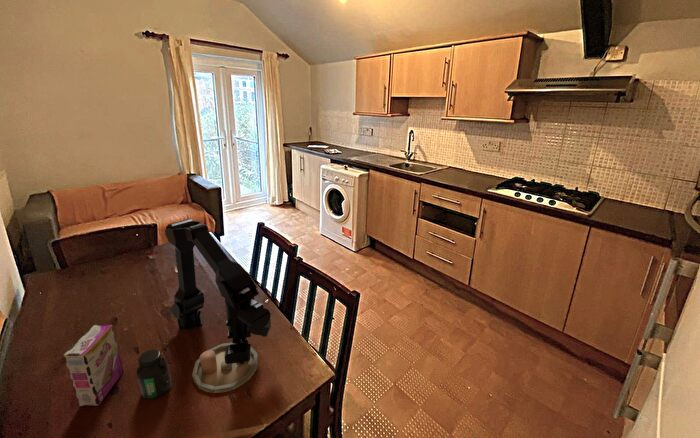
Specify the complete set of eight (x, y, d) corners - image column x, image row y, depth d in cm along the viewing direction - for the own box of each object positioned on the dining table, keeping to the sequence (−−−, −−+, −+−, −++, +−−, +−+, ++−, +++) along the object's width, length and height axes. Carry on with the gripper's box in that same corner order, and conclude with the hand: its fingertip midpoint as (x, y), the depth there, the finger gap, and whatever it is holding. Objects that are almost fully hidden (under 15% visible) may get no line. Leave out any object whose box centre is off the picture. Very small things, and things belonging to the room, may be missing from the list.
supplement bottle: (157, 406, 82) (148, 369, 78) (136, 398, 84) (126, 362, 79) (178, 384, 88) (171, 349, 84) (158, 378, 90) (150, 343, 86)
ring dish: (187, 400, 83) (186, 394, 83) (200, 352, 99) (199, 346, 98) (257, 389, 88) (256, 383, 87) (258, 344, 103) (258, 338, 103)
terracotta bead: (200, 376, 90) (198, 362, 88) (203, 365, 93) (201, 351, 92) (216, 373, 91) (214, 359, 89) (218, 363, 94) (216, 349, 93)
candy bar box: (100, 406, 81) (84, 355, 75) (79, 407, 81) (61, 355, 75) (125, 371, 92) (112, 323, 86) (106, 371, 91) (92, 324, 85)
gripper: (268, 332, 81) (271, 379, 87) (268, 291, 98) (270, 332, 104) (221, 338, 79) (227, 386, 84) (229, 295, 96) (234, 337, 101)
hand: (242, 358), depth 93 cm, fingers closed on maple bead, 4 cm apart
